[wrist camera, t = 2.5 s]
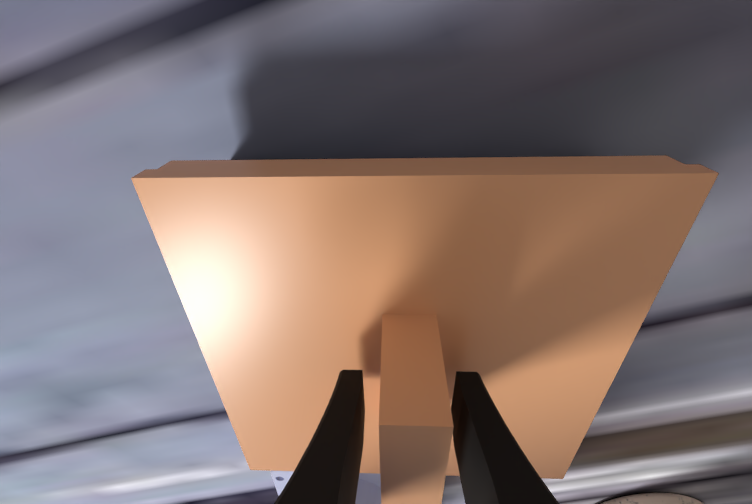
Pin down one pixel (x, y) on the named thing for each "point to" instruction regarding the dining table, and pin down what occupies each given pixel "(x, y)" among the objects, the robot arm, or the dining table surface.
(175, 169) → the lid
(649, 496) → the teacup with lid
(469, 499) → the robot arm
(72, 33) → the dining table surface
